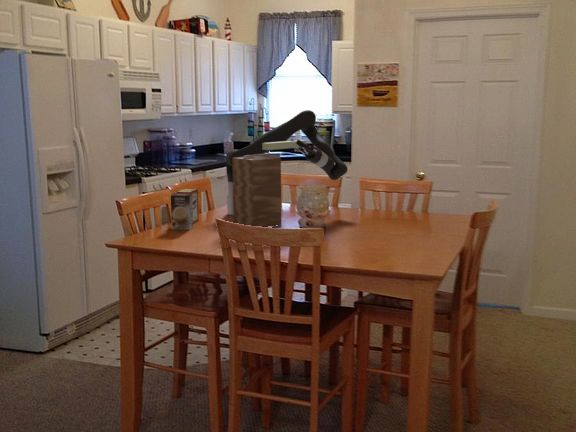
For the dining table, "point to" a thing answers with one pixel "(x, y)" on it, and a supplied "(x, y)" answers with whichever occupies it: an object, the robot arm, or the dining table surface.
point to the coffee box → (181, 211)
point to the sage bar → (281, 145)
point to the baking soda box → (195, 201)
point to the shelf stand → (257, 190)
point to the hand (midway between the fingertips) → (294, 141)
